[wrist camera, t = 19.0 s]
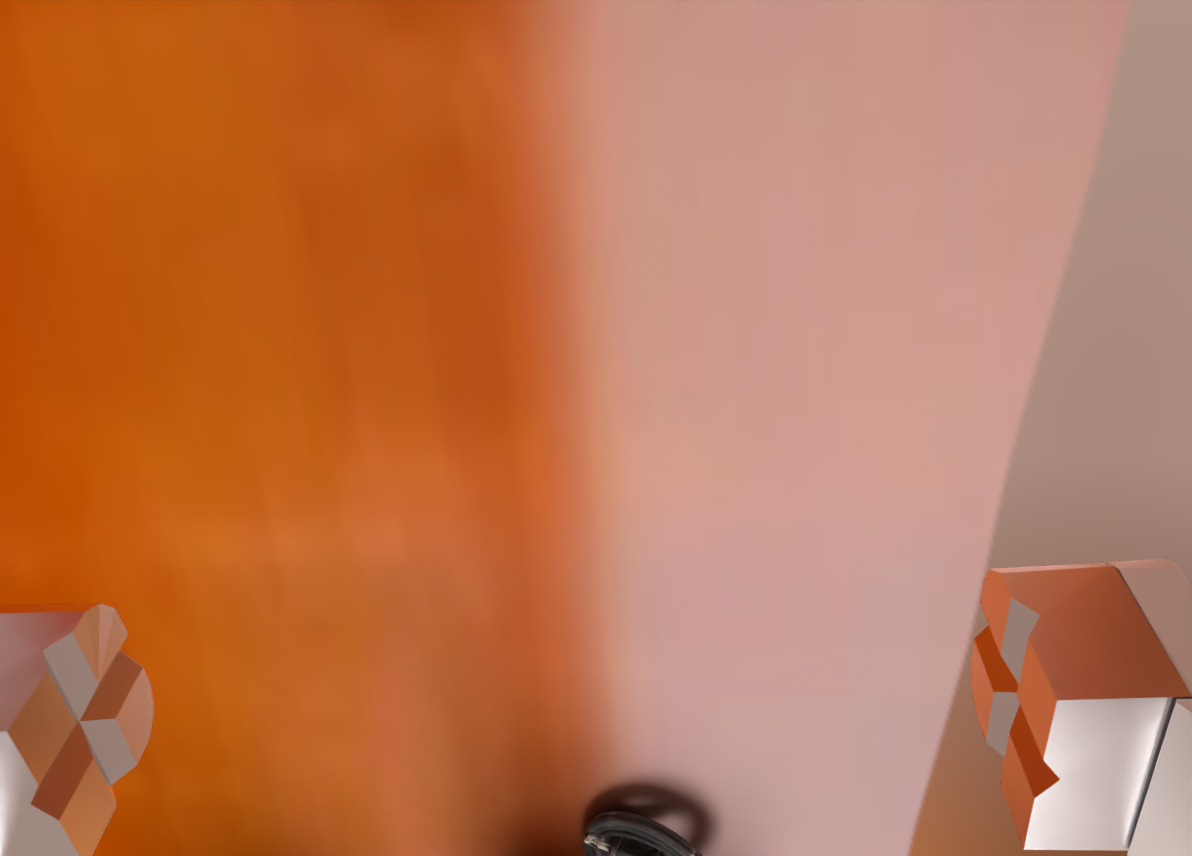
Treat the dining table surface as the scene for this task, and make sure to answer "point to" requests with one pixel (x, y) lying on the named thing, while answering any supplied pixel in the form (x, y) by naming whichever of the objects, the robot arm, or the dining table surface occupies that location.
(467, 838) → the dining table surface
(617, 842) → the milk frother
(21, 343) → the dining table surface
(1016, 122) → the dining table surface
